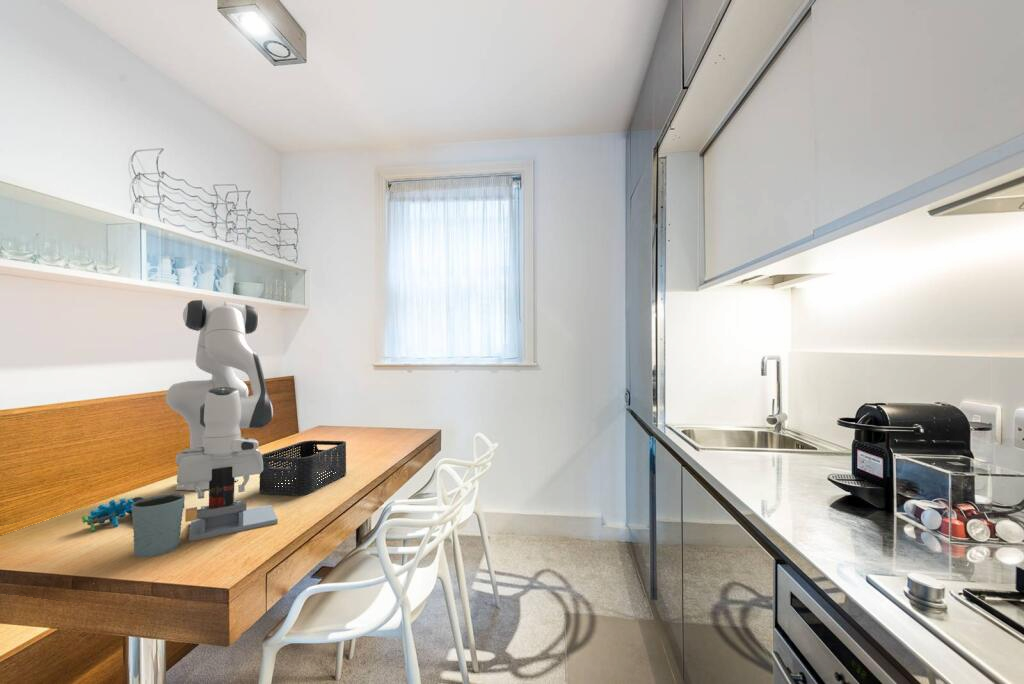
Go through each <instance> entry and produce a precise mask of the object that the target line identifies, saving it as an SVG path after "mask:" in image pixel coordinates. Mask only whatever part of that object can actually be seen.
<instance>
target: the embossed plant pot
mask: <svg viewBox="0 0 1024 684" xmlns="http://www.w3.org/2000/svg"><path fill="white" fill-rule="evenodd" d="M185 497H186V496H185V494H183V495H181V493H180V494H173V493H171V494H170V493H169V494H161V495H154V496H151V497H146V498H144V499H142V500H139V501H136V502H134V503H133V504H132V505H131V508H132V515H131V517H132V519H131V520H132V526H133V527H132V529H133V553H134V556H135V557H136V558H140V557H142V558H141V559H143V557H146V558H153V557H158V556H161V555H165V554H168V553H171V552H172V551H175V550H176V549H177V548H179V547H180V543H181V537H180V536H181V532H182V530H181V529H182V520H183V513H184V508H183V506H184V507H185V500H186V498H185Z"/></svg>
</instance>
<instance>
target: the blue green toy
mask: <svg viewBox="0 0 1024 684" xmlns="http://www.w3.org/2000/svg"><path fill="white" fill-rule="evenodd" d="M133 503H134V502H133V500H132V498H131V499H126V497H125V498H120V499H119V503H117V502H116V500H115V499H113V500H110V501H108V504H109V505H108V504H107V505H106V504H104V503H103V504H102V503H101V504H100V505H98V506H97V509H92V510H91V511H90V515H88V516H87V515H85V516H82V517H81V518H82V523H83V524H84V523H87V526H89V527H90V531H91V532H92V533H93V532H96V528H95V527H96V526H95V524H99V525H101V524H102V525H103V524H104V523H106V521H109V523H112V526H113V528H117V527H119V522H118V518H119V519H120V518H124V517H125V516H126V514H127V512H132V508H131V505H132V504H133Z"/></svg>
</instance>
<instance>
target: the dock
mask: <svg viewBox="0 0 1024 684" xmlns="http://www.w3.org/2000/svg"><path fill="white" fill-rule="evenodd" d="M239 502H242V501H241V499H239V500H234V503H239ZM204 508H209V504H208V505H203V506H202V505H201V506H200V509H204ZM275 524H278V517H277V515H276V512H275V509H274V508H273V505H272V504H268V505H262V506H256V507H251V508H246V511H241V512H236V513H230V514H225V515H219V516H213V517H208V518H202V519H197V520H193V521H190V526H189V537H188V542H192V541H197V540H202V539H207V538H212V537H217V536H222V535H227V534H231V533H235V532H242V531H246V530H250V529H256V528H260V527H261V528H262V527H265V526H271V525H275Z"/></svg>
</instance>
